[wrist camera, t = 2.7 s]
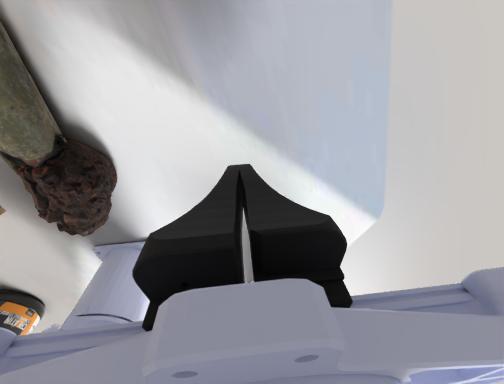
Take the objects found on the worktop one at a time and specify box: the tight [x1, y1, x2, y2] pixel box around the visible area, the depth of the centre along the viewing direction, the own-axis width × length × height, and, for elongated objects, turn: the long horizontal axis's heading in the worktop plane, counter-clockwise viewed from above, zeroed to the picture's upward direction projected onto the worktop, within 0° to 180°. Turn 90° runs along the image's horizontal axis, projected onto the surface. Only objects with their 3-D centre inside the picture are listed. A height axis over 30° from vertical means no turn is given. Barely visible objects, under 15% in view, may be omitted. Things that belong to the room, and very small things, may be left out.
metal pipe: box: [0, 21, 117, 237], centre depth 16 cm, size 18×7×6 cm, turn 1°
